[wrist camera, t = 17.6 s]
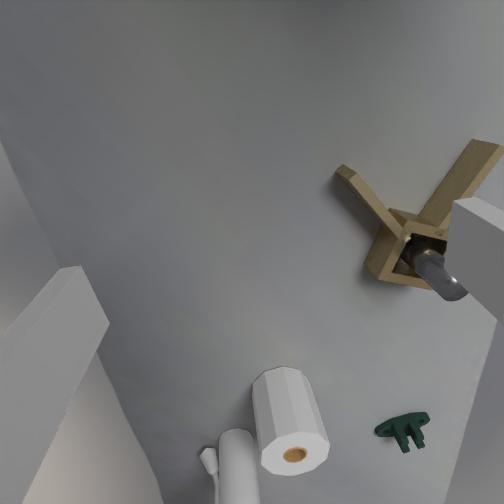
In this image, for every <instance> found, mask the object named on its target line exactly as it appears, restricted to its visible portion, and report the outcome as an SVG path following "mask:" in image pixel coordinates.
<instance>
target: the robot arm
mask: <svg viewBox="0 0 504 504" xmlns="http://www.w3.org/2000/svg"><path fill="white" fill-rule="evenodd" d="M444 269H445V270H446V271H447V272H448V273H449V274H450V275H451V276H452V277H453V278H454V279H455V280H456V281H457V282H459V283H460V284H461V285H462V286H463V287H464V288H465V289H466V290H467V291H468V292H469V293H470V294H471V295H472V296H473V297H474V298H475V299H476V300H477V301H479V302H480V303H481V304H482V305H483V306H484V307H485V308H486V309H487V310H488V311H489V312H490V313H491V314H492V315H493V316H494V317H495V318H496V319H497V320H499V321H500V322H501V323H502V324H503V325H504V211H502V210H500V209H498V208H496V207H494V206H492V205H490V204H489V203H487V202H485V201H483V200H481V199H479V198H477V197H471V198H465V199H459V200H454V201H453V203H452V211H451V218H450V225H449V233H448V240H447V248H446V255H445V262H444ZM109 324H110V323H109V321H108V319H107V317H106V315H105V313H104V311H103V309H102V307H101V305H100V303H99V301H98V299H97V297H96V295H95V293H94V291H93V289H92V287H91V285H90V283H89V281H88V279H87V277H86V275H85V273H84V271H83V269H82V267H81V265H79V266H73V267H68V268H62V269H59V270H58V272H57V273H56V274H55V275H54V277H52V279H51V280H50V281H49V282H48V283H47V284H46V285H45V287H44V288H43V289H42V290H41V291H40V292H39V293H38V295H37V296H36V297H35V298H34V299H33V300H32V302H31V303H30V304H29V305H28V306H27V307H26V308H25V310H24V311H23V312H22V313H21V314H20V315H19V316H18V317H17V319H16V320H15V321H14V322H13V323H12V325H11V326H10V327H9V328H8V329H7V330H6V331H5V332H4V334H3V335H2V336H1V337H0V504H22V502H23V500H24V498H25V496H26V494H27V492H28V490H29V488H30V486H31V484H32V482H33V480H34V477H35V476H36V474H37V471H38V469H39V467H40V465H41V463H42V461H43V459H44V457H45V455H46V453H47V451H48V449H49V447H50V445H51V443H52V441H53V439H54V437H55V435H56V432H57V430H58V428H59V426H60V424H61V422H62V420H63V418H64V416H65V414H66V412H67V410H68V408H69V406H70V404H71V402H72V400H73V398H74V396H75V394H76V392H77V390H78V387H79V385H80V383H81V381H82V379H83V377H84V375H85V373H86V371H87V369H88V367H89V365H90V363H91V361H92V359H93V357H94V355H95V353H96V351H97V349H98V347H99V344H100V342H101V340H102V338H103V336H104V334H105V332H106V330H107V328H108V326H109Z"/></svg>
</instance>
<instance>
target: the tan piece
mask: <svg viewBox="0 0 504 504" xmlns="http://www.w3.org/2000/svg"><path fill="white" fill-rule="evenodd" d="M503 154H504V147H503V146H501V145H499V144H494V143H489V142H485V141H480V140H475V139H472V140H471V142H470V143H469V144H468V146H467V147H466V149H465V150H464V152H463V153H462V154H461V156H460V157H459V159H458V160H457V161H456V163H455V164H454V166H453V167H452V169H451V170H450V171H449V173H448V174H447V176H446V177H445V178H444V180H443V181H442V183H441V184H440V186H439V187H438V188H437V190H436V191H435V193H434V194H433V195H432V197H431V198H430V200H429V201H428V203H427V204H426V205H425V207H424V208H423V210H422V211H421V212H420V214H419V215H416V214H412V213H408V212H404V211H400V210H396V209H392V208H390V209H389V211H388V210H387V208H386V207H385V206H384V205H383V204H382V202H381V201H380V200H379V199H378V197H377V196H376V195H375V194H374V193H373V191H372V190H371V189H370V188H369V187H368V185H367V184H366V183H365V182H364V180H363V179H362V178H361V177H360V176H359V174H358V173H357V172H355V171H353V170H352V169H350V168H348V167H347V166H345V165H344V164H343V165H342V166H341V167H340V168H339V169H338V170H336V172H337V173H338V174H339V176H340V177H341V178H342V179H343V180H344V181H345V182H346V184H347V185H348V186H349V187H350V188H351V189H352V191H353V192H354V193H355V194H356V195H357V196H358V198H359V199H360V200H361V201H362V202H363V203H364V205H365V206H366V207H367V208H368V209H369V210H370V212H371V213H372V214H373V215H374V216H375V217H376V219H377V220H378V221H379V222H380V223H381V224H382V226H381V228H380V230H379V232H378V235H377V237H376V239H375V241H374V243H373V245H372V247H371V249H370V252H369V254H368V256H367V258H366V260H365V262H364V264H365V265H366V267H367V268H368V269H369V270H370V271H371V273H372V274H373V275H374V276H375V277H376V278H377V280H382V281H387V282H392V283H397V284H402V285H408V286H413V287H418V288H423V289H428V290H433V288H432V287H431V286H430V285H428V284H427V283H426V282H425V281H424V280H423V279H422V278H421V277H420V276H419V275H418V274H417V273H416V272H415V271H414V270H413V269H412V268H411V267H410V266H409V265H407V264H406V263H402V262H397V260H398V258H399V256H400V254H401V252H402V251H403V249H404V247H405V245H406V243H407V241H408V240H409V239H410V235H411V233H416V234H420V235H424V236H426V238H425V240H424V242H425V243H426V244H428V245H429V246H430V247H431V248H433V249H434V250H435V251H437V252H438V253H439V254H441V255H442V256H443V257H444V258H445V255H446V248H447V240H448V233H449V225H450V218H451V211H452V203H453V201H454V200H459V199H465V198H470V197H471V196H472V195H473V194H474V192H475V191H476V190H477V188H478V187H479V186H480V184H481V183H482V182H483V180H484V179H485V178H486V176H487V175H488V174H489V172H490V171H491V170H492V168H493V167H494V166H495V164H496V163H497V162H498V160H499V159H500V158H501V156H502V155H503Z"/></svg>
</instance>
